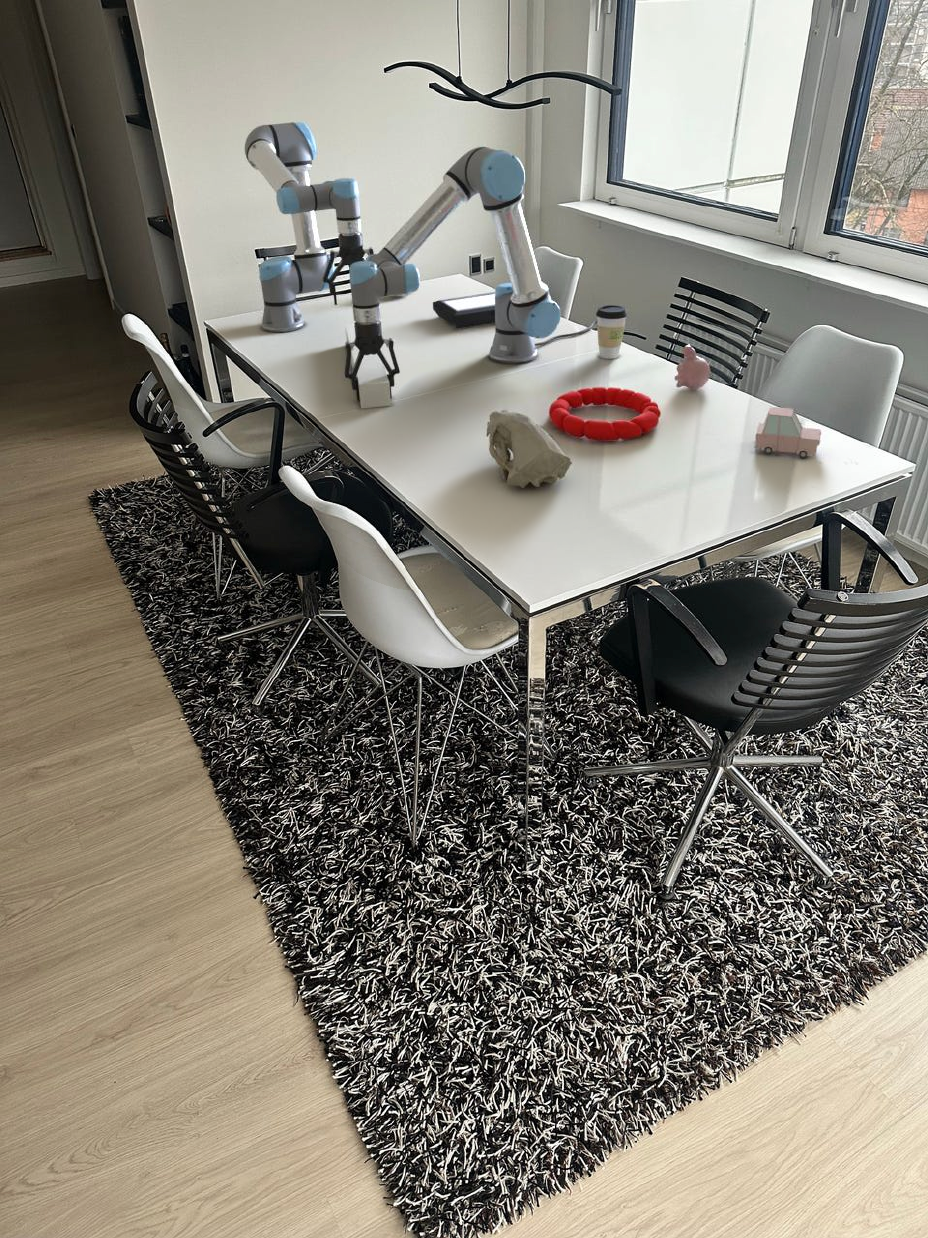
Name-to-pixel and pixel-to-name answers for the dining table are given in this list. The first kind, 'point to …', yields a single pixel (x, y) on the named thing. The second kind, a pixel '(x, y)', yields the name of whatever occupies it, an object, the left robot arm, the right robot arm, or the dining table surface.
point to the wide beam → (370, 376)
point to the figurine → (692, 370)
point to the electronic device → (467, 310)
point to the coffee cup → (610, 329)
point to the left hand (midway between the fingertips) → (356, 302)
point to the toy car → (786, 434)
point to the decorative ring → (604, 428)
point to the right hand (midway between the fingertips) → (374, 398)
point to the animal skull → (525, 450)
